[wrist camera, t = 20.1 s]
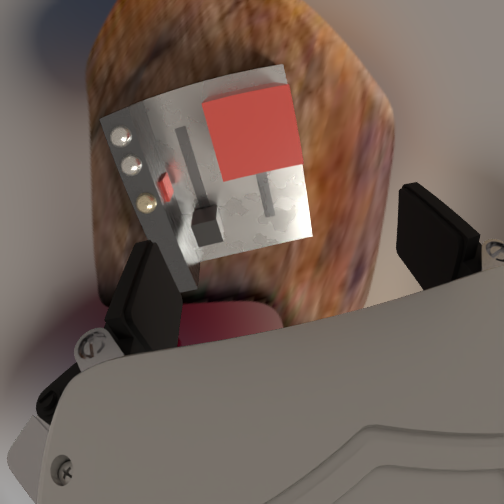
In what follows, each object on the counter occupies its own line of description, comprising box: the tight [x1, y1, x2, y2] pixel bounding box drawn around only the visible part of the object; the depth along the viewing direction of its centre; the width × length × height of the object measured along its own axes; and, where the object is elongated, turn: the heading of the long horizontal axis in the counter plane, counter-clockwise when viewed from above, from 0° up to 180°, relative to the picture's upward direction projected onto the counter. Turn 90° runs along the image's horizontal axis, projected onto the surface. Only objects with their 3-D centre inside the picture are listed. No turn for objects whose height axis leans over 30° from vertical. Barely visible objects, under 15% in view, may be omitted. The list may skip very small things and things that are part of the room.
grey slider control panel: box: [100, 64, 312, 292], centre depth 26 cm, size 18×15×8 cm
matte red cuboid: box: [201, 82, 304, 182], centre depth 22 cm, size 6×6×6 cm
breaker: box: [191, 205, 224, 247], centre depth 28 cm, size 2×2×3 cm
